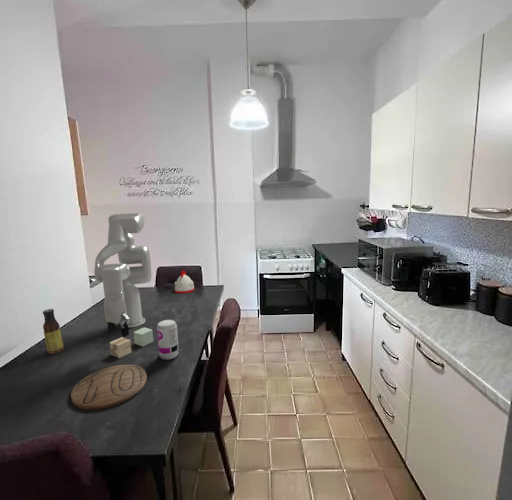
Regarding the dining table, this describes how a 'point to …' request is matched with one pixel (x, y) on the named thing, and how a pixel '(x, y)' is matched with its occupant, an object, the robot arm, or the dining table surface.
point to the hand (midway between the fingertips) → (118, 333)
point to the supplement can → (167, 339)
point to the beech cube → (120, 347)
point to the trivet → (108, 387)
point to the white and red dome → (184, 284)
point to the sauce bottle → (52, 333)
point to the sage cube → (143, 336)
